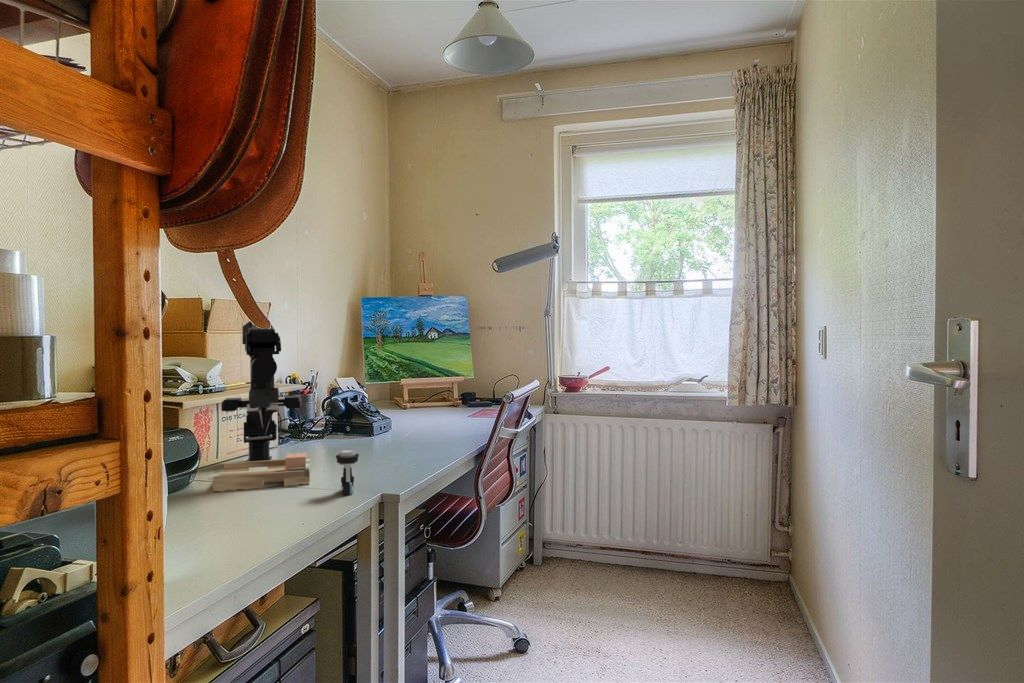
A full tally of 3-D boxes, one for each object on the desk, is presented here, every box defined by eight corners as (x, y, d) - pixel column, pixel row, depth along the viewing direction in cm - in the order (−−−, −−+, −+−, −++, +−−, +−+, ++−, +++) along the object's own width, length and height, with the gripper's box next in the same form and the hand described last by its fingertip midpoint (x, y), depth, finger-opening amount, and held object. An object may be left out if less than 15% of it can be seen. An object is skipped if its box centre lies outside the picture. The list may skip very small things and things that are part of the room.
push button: (335, 489, 142) (334, 448, 142) (357, 487, 144) (357, 447, 144) (336, 496, 136) (336, 454, 135) (360, 494, 138) (359, 452, 137)
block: (286, 468, 154) (286, 454, 154) (306, 467, 156) (306, 452, 156) (285, 473, 150) (285, 458, 150) (305, 471, 151) (305, 456, 151)
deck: (224, 476, 155) (224, 461, 155) (310, 469, 162) (310, 455, 162) (213, 492, 140) (213, 475, 140) (309, 484, 146) (309, 468, 146)
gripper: (217, 380, 139) (217, 444, 140) (299, 377, 145) (299, 439, 145) (224, 376, 150) (225, 436, 150) (301, 374, 156) (301, 432, 156)
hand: (263, 436), depth 150 cm, fingers closed
